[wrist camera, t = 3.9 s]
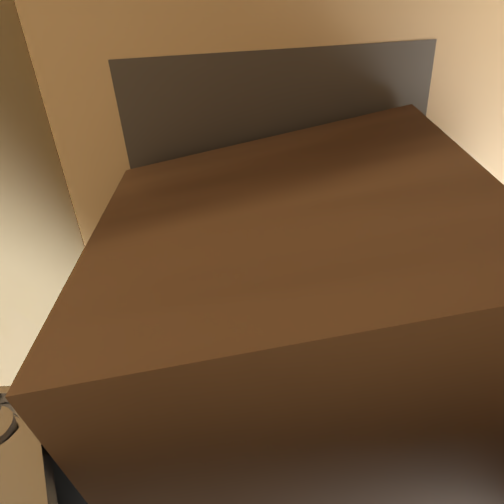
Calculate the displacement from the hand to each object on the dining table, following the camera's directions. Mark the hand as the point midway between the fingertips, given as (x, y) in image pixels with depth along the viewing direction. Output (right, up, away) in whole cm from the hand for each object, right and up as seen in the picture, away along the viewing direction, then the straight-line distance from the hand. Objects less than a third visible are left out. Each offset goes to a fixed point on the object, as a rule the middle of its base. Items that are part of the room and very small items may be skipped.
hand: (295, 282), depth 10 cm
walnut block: (0, +1, +1) cm, 1 cm away
